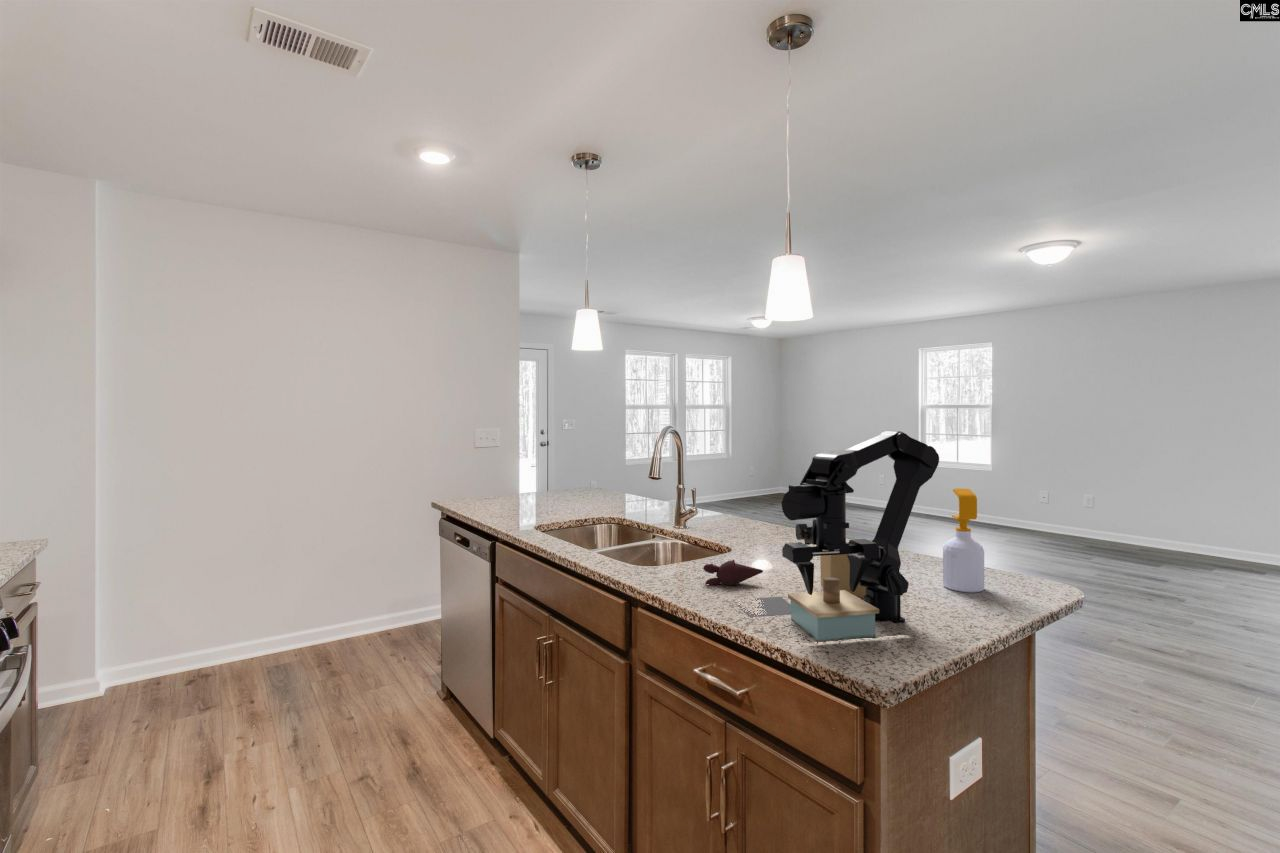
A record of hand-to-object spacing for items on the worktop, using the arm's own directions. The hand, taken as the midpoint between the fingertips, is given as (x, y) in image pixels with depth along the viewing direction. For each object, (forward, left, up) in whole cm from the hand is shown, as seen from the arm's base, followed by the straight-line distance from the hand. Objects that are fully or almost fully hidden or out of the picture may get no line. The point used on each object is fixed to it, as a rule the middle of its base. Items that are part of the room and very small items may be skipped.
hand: (831, 592), depth 121 cm
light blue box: (0, 0, -8) cm, 8 cm away
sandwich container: (-19, -23, -8) cm, 30 cm away
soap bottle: (-46, -20, -8) cm, 51 cm away
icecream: (+9, -34, -8) cm, 36 cm away
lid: (0, 0, -2) cm, 2 cm away
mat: (+8, -15, -8) cm, 19 cm away
